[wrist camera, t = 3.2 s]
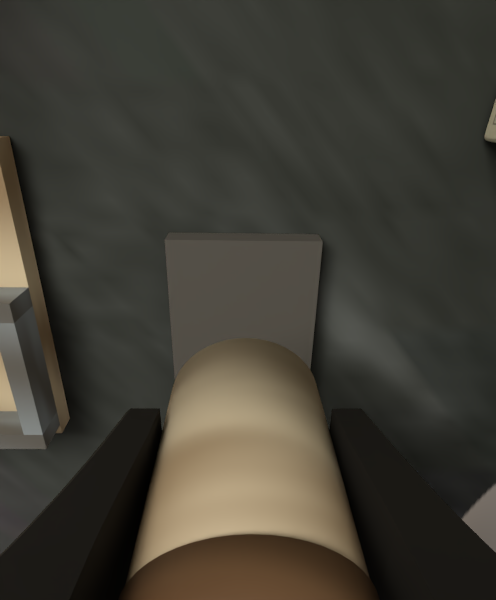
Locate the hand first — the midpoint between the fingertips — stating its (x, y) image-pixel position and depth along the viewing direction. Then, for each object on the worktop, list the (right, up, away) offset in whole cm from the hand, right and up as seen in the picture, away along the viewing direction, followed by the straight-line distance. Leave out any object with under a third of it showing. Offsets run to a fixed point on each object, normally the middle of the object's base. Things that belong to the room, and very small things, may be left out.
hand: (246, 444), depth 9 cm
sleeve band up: (0, +1, +1) cm, 1 cm away
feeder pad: (0, +1, +10) cm, 10 cm away
